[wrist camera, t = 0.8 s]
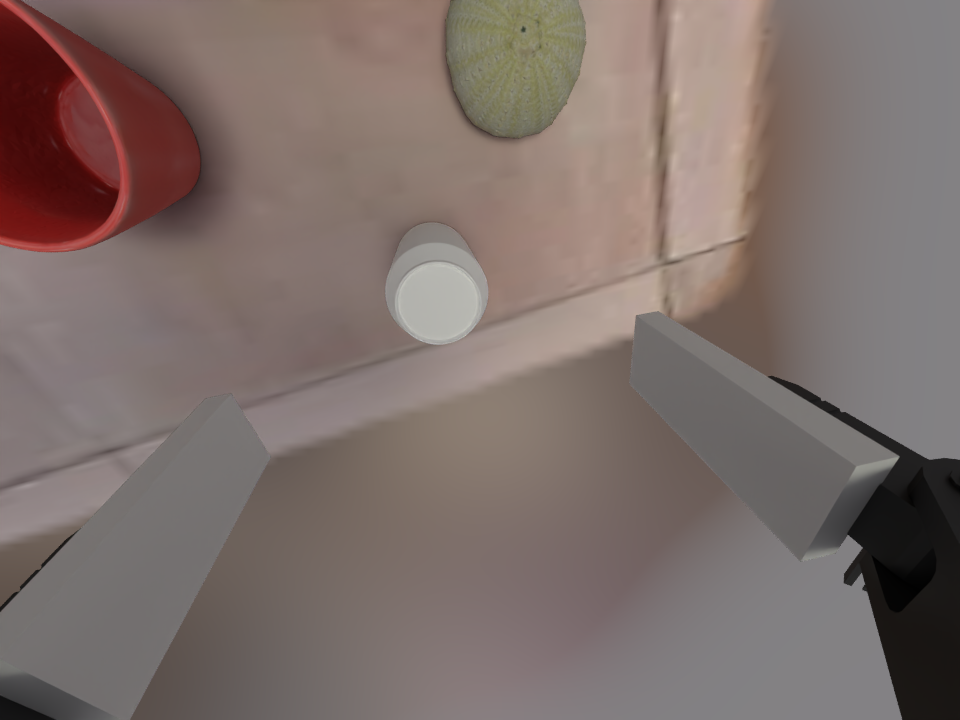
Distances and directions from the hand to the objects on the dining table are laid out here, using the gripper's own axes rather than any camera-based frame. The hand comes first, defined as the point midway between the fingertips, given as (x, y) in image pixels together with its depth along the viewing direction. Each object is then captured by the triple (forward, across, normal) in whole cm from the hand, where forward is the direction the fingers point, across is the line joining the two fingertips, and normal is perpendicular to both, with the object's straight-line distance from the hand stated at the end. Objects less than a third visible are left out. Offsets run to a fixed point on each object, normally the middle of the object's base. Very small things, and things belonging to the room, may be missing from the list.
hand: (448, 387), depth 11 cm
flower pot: (+21, -18, +11) cm, 30 cm away
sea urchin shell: (+21, +8, +12) cm, 26 cm away
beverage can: (+21, 0, 0) cm, 21 cm away
